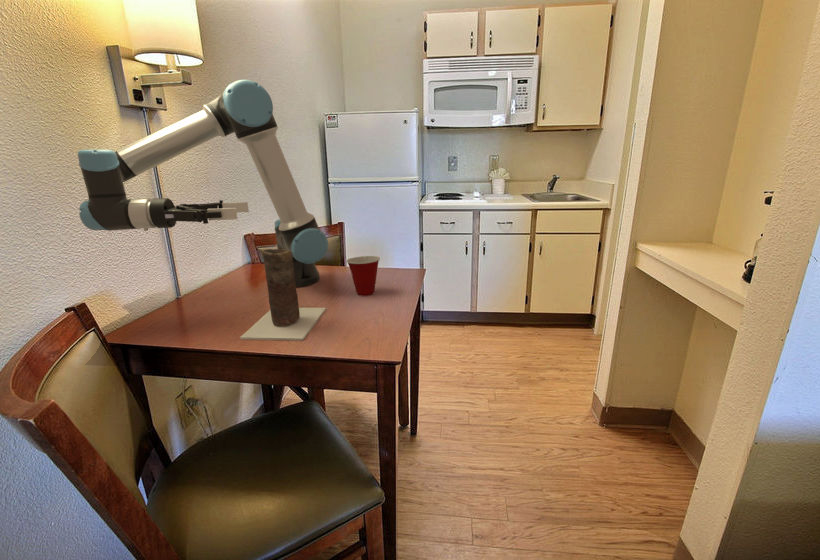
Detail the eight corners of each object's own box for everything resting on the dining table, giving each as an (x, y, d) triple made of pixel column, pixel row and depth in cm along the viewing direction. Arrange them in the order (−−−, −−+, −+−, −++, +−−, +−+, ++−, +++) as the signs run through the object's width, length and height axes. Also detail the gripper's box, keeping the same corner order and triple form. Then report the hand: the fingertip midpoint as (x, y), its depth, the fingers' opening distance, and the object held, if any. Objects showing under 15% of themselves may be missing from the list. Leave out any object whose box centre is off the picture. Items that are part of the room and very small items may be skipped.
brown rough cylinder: (272, 317, 107) (263, 247, 101) (299, 314, 109) (292, 245, 103) (271, 328, 100) (261, 254, 94) (300, 324, 102) (292, 251, 96)
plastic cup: (371, 285, 135) (370, 252, 131) (387, 294, 126) (386, 258, 122) (343, 291, 129) (340, 257, 125) (357, 301, 120) (355, 264, 117)
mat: (273, 309, 115) (273, 307, 115) (325, 309, 114) (325, 307, 114) (240, 339, 96) (240, 337, 96) (303, 340, 95) (302, 338, 95)
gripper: (176, 220, 111) (253, 217, 115) (134, 237, 88) (233, 232, 92) (170, 194, 109) (249, 191, 113) (126, 204, 86) (228, 200, 89)
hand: (242, 210), depth 102 cm, fingers open, 13 cm apart
